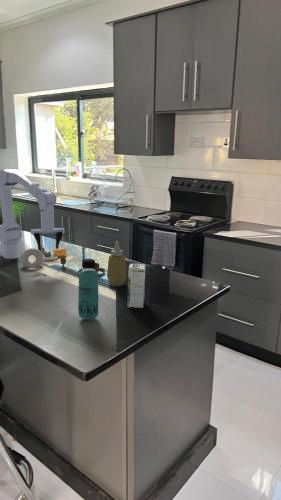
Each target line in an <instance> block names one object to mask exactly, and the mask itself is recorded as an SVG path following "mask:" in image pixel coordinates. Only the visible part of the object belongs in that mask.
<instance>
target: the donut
mask: <svg viewBox="0 0 281 500" xmlns="http://www.w3.org/2000/svg"><path fill="white" fill-rule="evenodd" d="M30 256H35V257H36V260H35V259H34V261H30V260H29V258H30ZM42 262H43V255H42V251H41V250H39V248H38V249H37V248H35V247H34V248H33V247H30V248H26V249H25V250H24V251H23V252H22V253H21V255H20V264H21V265H22V267H24V268H26V269H27V268H29V269H30V268H39V267H40V266H42V265H43V263H42Z"/></svg>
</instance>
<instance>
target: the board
mask: <svg viewBox="0 0 281 500" xmlns="http://www.w3.org/2000/svg"><path fill="white" fill-rule="evenodd" d="M44 252H46V247H41V253H42V254H44ZM51 254H53V252H51ZM29 258H30V259H32V260H34V261H35V260H36V257H35V256H33V255H32V256H29ZM61 258H66V263H70V262H71V263H72V262H75V261H80V260H81V258H80V259H79V258H77V257H76V256H73V255H69V254H66V256H60V257H58V259H56V260H52V261H43V262H42V264H45V265H46V266H49V267H50V266H55V265H56V266H57V265H60V264H61V260H60V259H61ZM61 265H62V264H61Z"/></svg>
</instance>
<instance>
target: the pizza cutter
mask: <svg viewBox="0 0 281 500" xmlns="http://www.w3.org/2000/svg"><path fill="white" fill-rule="evenodd" d="M52 251H53V252H51V251H50V250H49V251H48V250H45V252H44V254H42V255H43V261H52V260H56V259H58V257H60V256H66V255H67V248H66V247H60V248H59V247H58V249H56V248H54V249H53V250H52ZM51 253H53V254H51Z"/></svg>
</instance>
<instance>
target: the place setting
mask: <svg viewBox="0 0 281 500" xmlns="http://www.w3.org/2000/svg"><path fill="white" fill-rule="evenodd" d="M60 260H61V265H62V267H63V268H64V267H65V265H66V263H67V262H66V258H61V259H60ZM83 269H94V270H96V271H97V272H98V274H99V275H98V278H99V277H102V275H103V276H104V275H105V273H106V272H107V270H106V269H105V268H103V267H100V263H98V262H95V267H94V268H83V267H82V268H80V269H78V270H77V272H78V274H79V272H80V271H81V270H83ZM63 270H64V271H65V269H63ZM99 272H101V273H99ZM102 272H103V273H102Z"/></svg>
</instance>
